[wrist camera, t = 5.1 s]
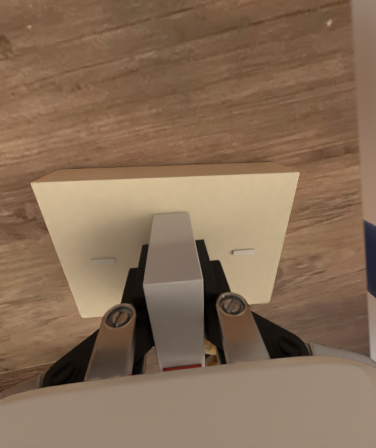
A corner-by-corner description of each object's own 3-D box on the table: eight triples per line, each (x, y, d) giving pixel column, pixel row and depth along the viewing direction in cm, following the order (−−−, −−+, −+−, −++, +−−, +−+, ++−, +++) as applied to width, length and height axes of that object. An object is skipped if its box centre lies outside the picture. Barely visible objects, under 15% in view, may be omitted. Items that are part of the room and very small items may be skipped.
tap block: (274, 161, 14) (301, 172, 11) (255, 276, 18) (270, 304, 16) (58, 169, 13) (27, 183, 10) (94, 288, 18) (80, 320, 15)
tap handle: (153, 214, 12) (141, 290, 6) (188, 211, 12) (205, 284, 7) (164, 292, 14) (161, 389, 9) (192, 289, 14) (206, 384, 9)
